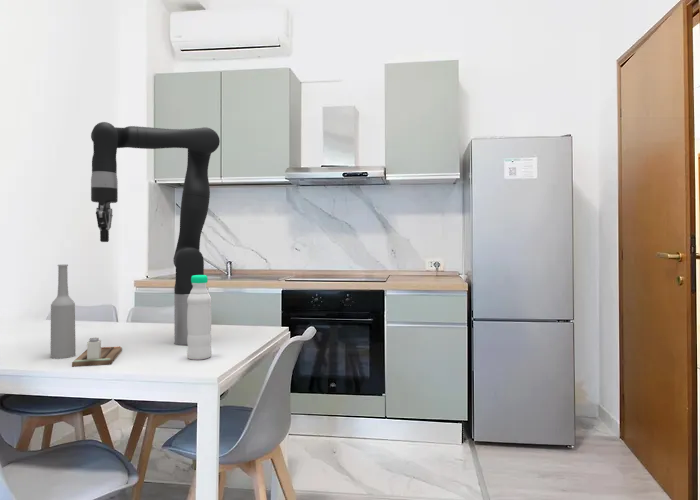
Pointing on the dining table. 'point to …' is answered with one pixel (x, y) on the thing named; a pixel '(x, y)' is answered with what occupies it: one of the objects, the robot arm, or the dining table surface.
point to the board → (106, 358)
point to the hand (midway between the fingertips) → (104, 241)
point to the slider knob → (94, 348)
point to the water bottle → (199, 319)
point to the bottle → (62, 319)
